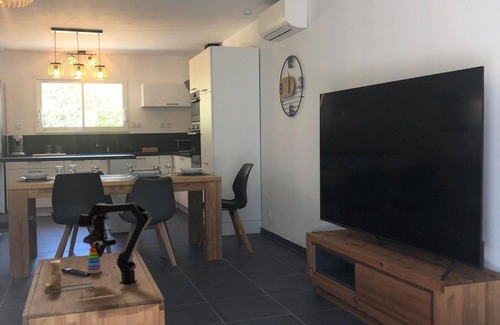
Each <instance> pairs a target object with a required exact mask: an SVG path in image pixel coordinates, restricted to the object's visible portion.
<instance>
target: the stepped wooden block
mask: <svg viewBox="0 0 500 325" xmlns="http://www.w3.org/2000/svg"><path fill="white" fill-rule="evenodd" d="M49 264H50V265H49V266H50V267H49V268H50V270H49V271H50V282H46V283H45V293H47V292H48V291H56V290H62V287H61V286H62V271H61V269H62V268H61V266H62V265H61V260H60V259H58V260H50V261H49Z"/></svg>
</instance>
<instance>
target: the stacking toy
mask: <svg viewBox="0 0 500 325" xmlns="http://www.w3.org/2000/svg"><path fill="white" fill-rule="evenodd" d="M89 247H90V248H89V252H88V254H89V255H88V259H87V261H88V262H87V266H86V268H87V269H86V272H87V273H88V274H99V273H101V272H102V265H101V264H102V263H101V257H98V254H97V251H96V249H95V247H94V246H92V245H91V244H89Z"/></svg>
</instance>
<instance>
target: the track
mask: <svg viewBox="0 0 500 325" xmlns="http://www.w3.org/2000/svg"><path fill="white" fill-rule="evenodd" d="M90 284H93V283H92V281H89V282H83V283H72V284H65V285H61V288H64V289H61V290H56V291H48V292H46V294H51V293H57V292H65V291H67V292H68V291H74V290H81V289H82V290H83V289H89V288H94V285H90ZM83 285H88V286H83ZM75 286H80V287H75ZM66 287H71V288H66ZM73 287H74V288H73ZM65 288H66V289H65Z"/></svg>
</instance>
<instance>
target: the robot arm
mask: <svg viewBox="0 0 500 325" xmlns="http://www.w3.org/2000/svg"><path fill="white" fill-rule="evenodd" d="M128 211H129V212H130V213H131V214H132V215H133V216H134V217H135V218H136V222H135V223H136V224H135V228H134V231H133V233H132V235H131V237H130V239H129V242H128V244H127V246H126V247H125V250H123V251H122V252H119V254H118V257H117V259H116V265H117V267H118V268H119V270H120V273H121V276H120V278H121V281H119V283H120V284H125V285H131V284H133V283H137V282H138V280H137V279H136V271H135V269H136V268H137V264H136V263H135V262H134V261H133V259H134V252H135V251H136V250H135V249H136V248H137V245H138V243H139V241H140V239H141V237H142V235H143V233H144V230H145V229H146V228H147V226H148V225H149V224H150V222H151V221H152V220H153V214H152V213H151V212H150V211H147V210H146V209H145V208H143V207H142V206H140V205H138V204H137V203H136V202H130V203H116V204H109V203H103V202H100V203H97V204H93V205H92V207H91V210H90V212H89V213H88V214H83V213H82V214H80V215H79V219H78V221H77V222H78V227H79V228H90V229H91V228H93V229H92V230H91V233H89V234H88V235H86V236H85V237H84V238H83V240H82V242H83V243H84V244H86V245H90V244H91V245H92V246H94V247H95V249H96V251H97V254H98V257H99V258H102V256H103V255H104V252H105V250H106V248H107V247H111V246H114V245H116V244H117V240H116V238H112V237H111V238H108V237H107V236H106V232H107V231H108V230H107V228H106V220H108V219H110V217H109V216H107V214H108V213H116V212H117V213H118V212H128Z"/></svg>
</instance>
